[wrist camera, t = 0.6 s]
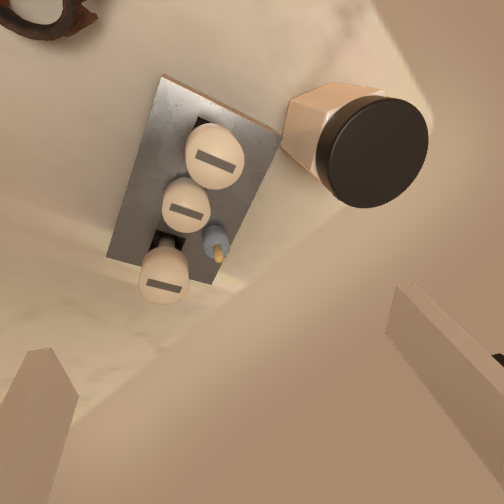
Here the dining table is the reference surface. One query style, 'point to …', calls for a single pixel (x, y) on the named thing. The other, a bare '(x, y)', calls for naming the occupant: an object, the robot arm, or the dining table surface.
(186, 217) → the knob middle
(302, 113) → the jar
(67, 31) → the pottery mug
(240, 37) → the dining table surface
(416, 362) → the robot arm
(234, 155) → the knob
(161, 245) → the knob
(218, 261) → the potentiometer
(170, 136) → the panel
